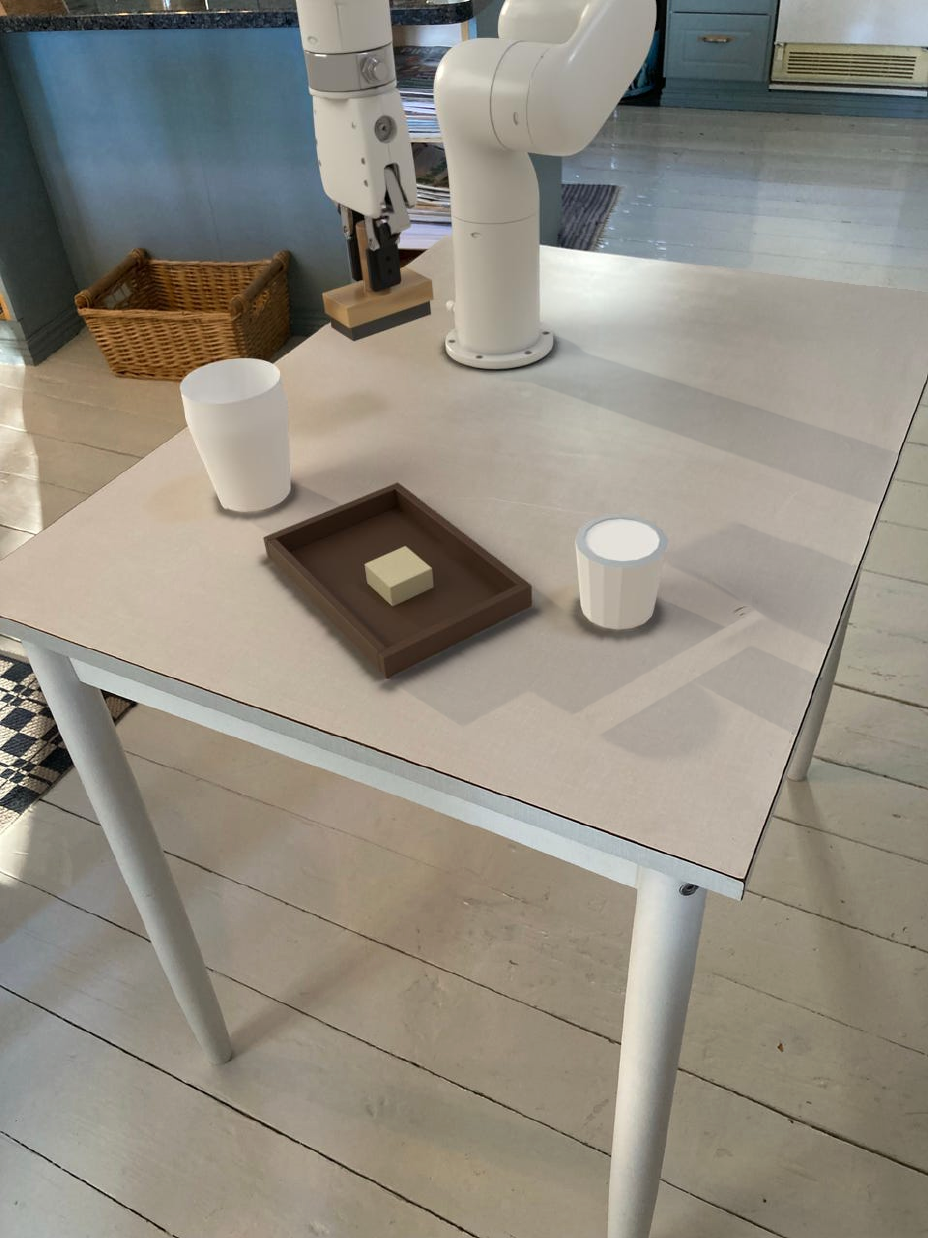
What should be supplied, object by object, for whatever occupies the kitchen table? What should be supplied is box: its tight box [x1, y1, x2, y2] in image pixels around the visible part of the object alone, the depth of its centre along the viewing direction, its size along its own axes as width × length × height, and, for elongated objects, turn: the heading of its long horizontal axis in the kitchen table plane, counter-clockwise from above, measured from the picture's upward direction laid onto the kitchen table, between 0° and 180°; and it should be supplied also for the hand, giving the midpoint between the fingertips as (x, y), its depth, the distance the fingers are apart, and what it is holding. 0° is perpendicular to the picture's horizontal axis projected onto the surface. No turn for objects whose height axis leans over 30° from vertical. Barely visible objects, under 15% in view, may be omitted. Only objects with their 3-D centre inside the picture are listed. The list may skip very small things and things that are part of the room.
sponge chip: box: [365, 546, 434, 606], centre depth 81 cm, size 4×4×2 cm
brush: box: [321, 220, 434, 342], centre depth 95 cm, size 5×10×10 cm, turn 125°
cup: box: [179, 357, 291, 513], centre depth 90 cm, size 9×9×12 cm
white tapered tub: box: [574, 513, 669, 630], centre depth 76 cm, size 7×7×7 cm
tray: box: [262, 482, 533, 680], centre depth 82 cm, size 20×14×3 cm
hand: (376, 280), depth 96 cm, fingers closed on brush, 2 cm apart
